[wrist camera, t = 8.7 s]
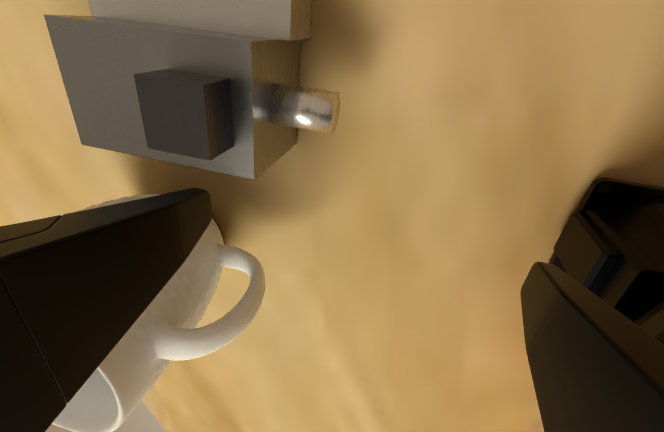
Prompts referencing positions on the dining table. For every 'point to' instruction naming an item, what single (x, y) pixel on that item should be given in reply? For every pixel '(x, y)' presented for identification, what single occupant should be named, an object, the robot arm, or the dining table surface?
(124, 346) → the mug
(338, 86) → the dining table surface
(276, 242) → the dining table surface
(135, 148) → the u-shaped channel
